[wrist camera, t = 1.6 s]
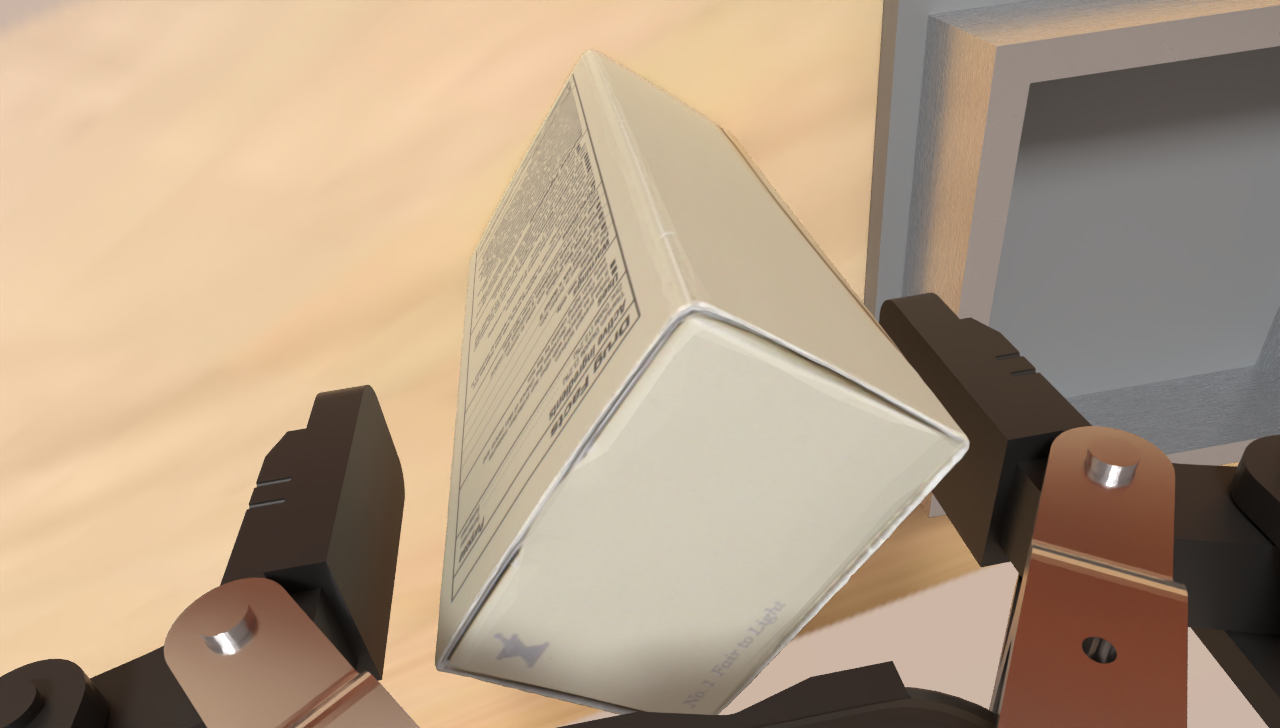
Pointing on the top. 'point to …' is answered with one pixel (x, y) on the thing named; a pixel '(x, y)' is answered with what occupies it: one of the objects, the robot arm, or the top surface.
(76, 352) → the top surface
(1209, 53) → the shallow grey tray
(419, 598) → the top surface
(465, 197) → the top surface
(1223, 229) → the slate base plate
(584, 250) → the skincare box
